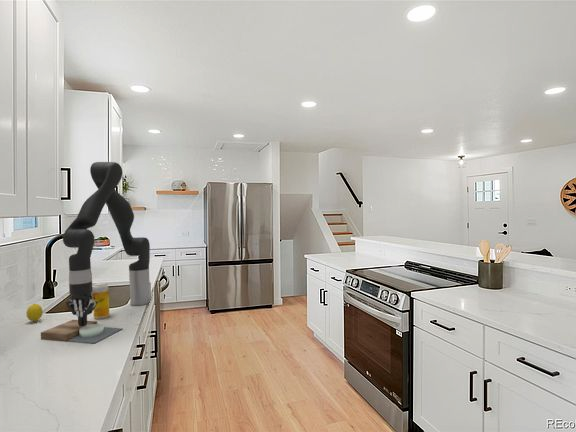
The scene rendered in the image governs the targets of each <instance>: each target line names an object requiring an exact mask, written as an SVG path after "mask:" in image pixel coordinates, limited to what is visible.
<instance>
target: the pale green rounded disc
mask: <svg viewBox="0 0 576 432" xmlns="http://www.w3.org/2000/svg"><path fill="white" fill-rule="evenodd" d="M104 327H105V326H104V324H102V323H97V324H92V325H87V326H84V327H82V328H80V329H79V335H80V337H81V338H91V337H96V336H99V335H101V334H103V333H104Z"/></svg>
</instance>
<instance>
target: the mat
mask: <svg viewBox="0 0 576 432" xmlns="http://www.w3.org/2000/svg"><path fill="white" fill-rule="evenodd" d="M122 330H124V329H123V327H109V326H104V333H103V334H101V335H99V336H96V337H91V338H81V337H80V335H79V336H76V337H74V338H72V339H70V340H68V341H67V342H69V343H79V344H80V343H81V344H91V345H92V344H93V345H95V344H98V343H99V342H101V341H103V340H105V339H107V338H109V337H111V336H112V335H114V334H116V333H119V332H121V331H122Z"/></svg>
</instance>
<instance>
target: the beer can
mask: <svg viewBox="0 0 576 432" xmlns="http://www.w3.org/2000/svg"><path fill="white" fill-rule="evenodd" d="M92 290H93V291H92V300H93V301H94V302H96V301H97V302H98V304H97V305H96V307H95V308H94V310H93V318H95V319H96V320H103V319H107V318H108V317H109V316H110V295H109V294H110V293H109V284H108V282H104V281H103V282H97V283H96V282H95V283H93V284H92Z"/></svg>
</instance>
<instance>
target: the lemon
mask: <svg viewBox="0 0 576 432" xmlns="http://www.w3.org/2000/svg"><path fill="white" fill-rule="evenodd" d="M43 312H44V311H43V307H42V306H41V305H40V304H37V303H32V304H31V305H29V306H28V308H27V310H26V318H27V319H28V320H29V321H32V322H33V323H36V322H37V321H38V320H39V319H41V318H42V317H43V314H44V313H43Z"/></svg>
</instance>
